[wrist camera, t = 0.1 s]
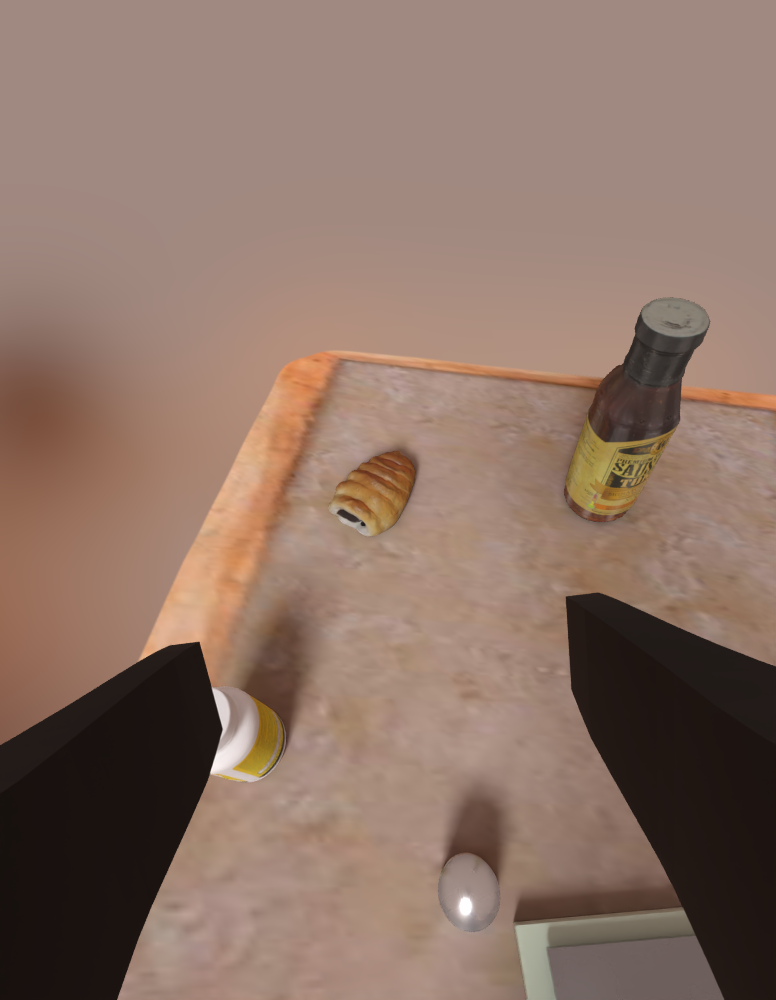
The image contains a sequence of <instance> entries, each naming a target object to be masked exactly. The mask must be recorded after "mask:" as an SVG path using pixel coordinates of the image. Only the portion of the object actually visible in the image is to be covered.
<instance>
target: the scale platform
mask: <svg viewBox="0 0 776 1000" xmlns="http://www.w3.org/2000/svg"><path fill="white" fill-rule="evenodd" d="M546 951H547V956H548V961H549V966H550V972H551V977H552V982H553V987H554V992H555V998H556V1000H724V998H723V996H722V994H721V991H720V989H719V987H718V984H717V982H716V980H715V977H714V975H713V973H712V971H711V968H710V966H709V964H708V962H707V959H706V957H705V955H704V953H703V951H702V948H701V946H700V944H699V942H698V940H697V937H696V935H695V934H688V935H677V936H665V937H654V938H642V939H630V940H619V941H607V942H596V943H584V944H572V945H561V946H549V947H546Z"/></svg>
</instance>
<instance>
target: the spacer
mask: <svg viewBox="0 0 776 1000" xmlns="http://www.w3.org/2000/svg"><path fill="white" fill-rule="evenodd" d="M438 896H439V901H440V905H441V907H442V910H443V912H444V914H445V915H446V917H447V918H448V919H449V921H450V922H451V923H452V924H453V925H455V926H456V927H458V928H459V929H461V930H464V931H468V932H476V931H480V930H482V929H484V928H486V927H487V926H488V925H490V923H491V922H492V921H493V920H494V918H495V916H496V914H497V912H498V909H499V905H500V889H499V884H498V881H497V878H496V876H495V874H494V872H493V871H492V869H491V868H490V867H489V865H488V864H487V863H486V862H485V861H484V860H483V859H482V858H481V857H479V856H477V855H475V854H473V853H468V852H463V853H459V854H456V855H454V856H453V857H452V858H450V859H449V860H448V862H447V863H446V865H445V866H444V868H443V870H442V872H441V875H440V878H439V883H438Z"/></svg>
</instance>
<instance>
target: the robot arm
mask: <svg viewBox="0 0 776 1000" xmlns="http://www.w3.org/2000/svg"><path fill="white" fill-rule="evenodd" d="M566 608H567V624H568V640H569V656H570V673H571V689H572V692H573V695H574V697H575V700H576V702H577V705H578V707H579V710H580V713H581V715H582V718H583V720H584V722H585V725H586V727H587V729H588V732H589V734H590V737H591V739H592V741H593V742H594V744H595V746H596V748H597V750H598V752H599V753H600V755H601V757H602V759H603V761H604V762H605V764H606V766H607V768H608V770H609V771H610V773H611V775H612V777H613V779H614V780H615V782H616V784H617V786H618V787H619V789H620V791H621V793H622V794H623V796H624V798H625V800H626V802H627V803H628V805H629V807H630V809H631V810H632V812H633V814H634V816H635V817H636V819H637V821H638V823H639V825H640V826H641V828H642V830H643V832H644V833H645V835H646V837H647V839H648V841H649V842H650V844H651V846H652V848H653V849H654V851H655V853H656V855H657V856H658V858H659V860H660V862H661V864H662V866H663V868H664V870H665V872H666V874H667V876H668V878H669V880H670V881H671V883H672V885H673V887H674V889H675V891H676V893H677V896H678V898H679V900H680V902H681V904H682V907H683V909H684V911H685V913H686V915H687V918H688V920H689V922H690V924H691V926H692V929H693V931H694V933H695V935H696V937H697V940H698V942H699V944H700V946H701V948H702V951H703V953H704V955H705V957H706V959H707V962H708V964H709V966H710V968H711V971H712V973H713V975H714V977H715V980H716V982H717V984H718V987H719V989H720V991H721V994H722V996H723V998H724V1000H776V666H773V665H770V664H767V663H764V662H762V661H759V660H756V659H754V658H751V657H749V656H746V655H744V654H741V653H738V652H736V651H733V650H731V649H728V648H726V647H723V646H720V645H718V644H716V643H713V642H711V641H708V640H706V639H704V638H701V637H699V636H697V635H694V634H692V633H690V632H687V631H685V630H683V629H681V628H678V627H676V626H674V625H672V624H669V623H667V622H665V621H663V620H661V619H658V618H656V617H654V616H652V615H650V614H648V613H645V612H643V611H641V610H639V609H637V608H635V607H632V606H630V605H628V604H626V603H624V602H621V601H619V600H617V599H614V598H612V597H609V596H607V595H604V594H601V593H591V594H583V595H575V596H567V597H566ZM222 731H223V728H222V724H221V720H220V717H219V713H218V709H217V706H216V702H215V698H214V694H213V691H212V687H211V683H210V679H209V676H208V672H207V668H206V665H205V661H204V657H203V653H202V650H201V646H200V642H194V643H186V644H178V645H170V646H168V647H165V648H163V649H161V650H159V651H157V652H155V653H153V654H151V655H150V656H148V657H146V658H144V659H143V660H141V661H139V662H137V663H136V664H134V665H132V666H131V667H129V668H128V669H126V670H124V671H123V672H121V673H119V674H118V675H116V676H115V677H113V678H111V679H110V680H108V681H107V682H105V683H103V684H102V685H100V686H99V687H97V688H96V689H94V690H92V691H91V692H89V693H87V694H86V695H84V696H83V697H81V698H79V699H78V700H76V701H75V702H73V703H71V704H70V705H68V706H66V707H65V708H63V709H61V710H60V711H58V712H56V713H54V714H53V715H51V716H49V717H48V718H46V719H44V720H43V721H41V722H39V723H38V724H36V725H34V726H32V727H31V728H29V729H28V730H26V731H24V732H22V733H21V734H19V735H17V736H16V737H14V738H12V739H11V740H9V741H7V742H5V743H3V744H2V745H0V1000H117V998H118V995H119V992H120V990H121V987H122V984H123V981H124V978H125V975H126V972H127V970H128V967H129V964H130V961H131V958H132V955H133V952H134V950H135V947H136V944H137V941H138V938H139V936H140V933H141V931H142V929H143V926H144V924H145V921H146V919H147V916H148V914H149V911H150V909H151V907H152V904H153V902H154V900H155V898H156V895H157V893H158V891H159V889H160V887H161V884H162V882H163V880H164V878H165V875H166V873H167V871H168V869H169V867H170V864H171V862H172V860H173V858H174V855H175V853H176V851H177V849H178V847H179V844H180V842H181V840H182V838H183V836H184V833H185V831H186V829H187V827H188V824H189V822H190V820H191V818H192V815H193V813H194V811H195V809H196V806H197V804H198V802H199V800H200V797H201V795H202V793H203V790H204V788H205V786H206V783H207V781H208V778H209V775H210V772H211V769H212V766H213V762H214V759H215V756H216V752H217V749H218V745H219V742H220V738H221V734H222Z"/></svg>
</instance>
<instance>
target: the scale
mask: <svg viewBox="0 0 776 1000" xmlns="http://www.w3.org/2000/svg"><path fill="white" fill-rule="evenodd" d="M513 923H514V929H515V935H516V941H517V947H518V953H519V958H520V964H521V970H522V976H523V982H524V988H525V994H526V1000H556V998H555V992H554V987H553V982H552V977H551V972H550V966H549V961H548V956H547V951H546V947H549V946H561V945H572V944H584V943H596V942H607V941H619V940H630V939H642V938H654V937H665V936H677V935H688V934H695V933H694V931H693V929H692V926H691V924H690V922H689V920H688V918H687V915H686V913H685V911H684V909H683V907H678V908H667V909H656V910H644V911H633V912H622V913H611V914H599V915H588V916H577V917H566V918H555V919H543V920H532V921H521V922H513Z"/></svg>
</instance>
